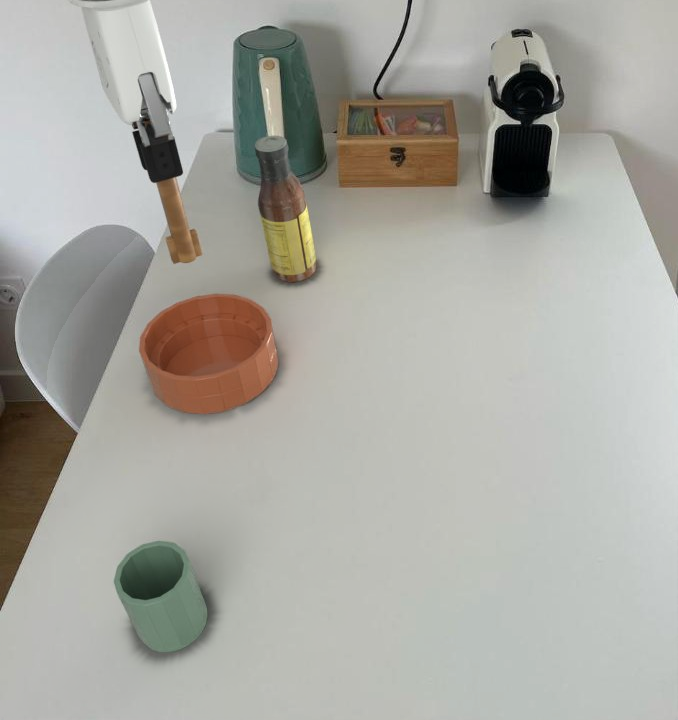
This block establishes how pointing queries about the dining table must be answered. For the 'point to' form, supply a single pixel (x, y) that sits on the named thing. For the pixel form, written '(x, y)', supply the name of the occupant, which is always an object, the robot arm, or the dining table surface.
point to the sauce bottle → (284, 213)
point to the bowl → (209, 353)
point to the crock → (161, 596)
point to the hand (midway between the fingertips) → (162, 170)
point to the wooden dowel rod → (177, 223)
